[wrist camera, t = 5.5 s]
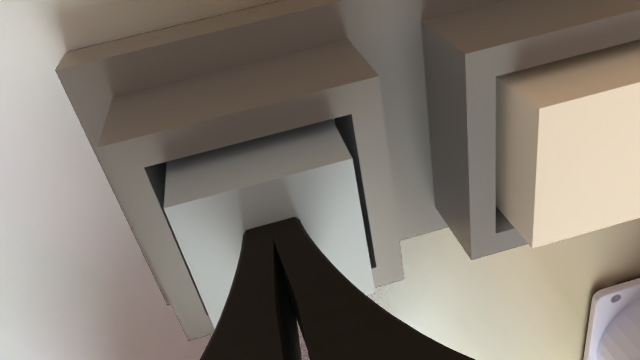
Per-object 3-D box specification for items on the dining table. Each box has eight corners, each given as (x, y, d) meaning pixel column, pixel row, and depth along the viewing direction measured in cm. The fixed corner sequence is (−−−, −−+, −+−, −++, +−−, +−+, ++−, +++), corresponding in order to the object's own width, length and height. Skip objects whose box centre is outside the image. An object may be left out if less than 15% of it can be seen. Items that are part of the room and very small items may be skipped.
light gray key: (325, 106, 15) (352, 158, 12) (348, 228, 17) (375, 293, 15) (167, 146, 15) (163, 208, 12) (214, 265, 17) (218, 337, 14)
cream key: (625, 28, 16) (709, 63, 13) (607, 157, 18) (675, 207, 15) (481, 65, 15) (539, 108, 13) (483, 191, 18) (532, 248, 15)
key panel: (641, -86, 17) (770, -67, 13) (607, 156, 22) (694, 220, 18) (66, 52, 16) (27, 117, 12) (168, 277, 20) (164, 374, 17)
